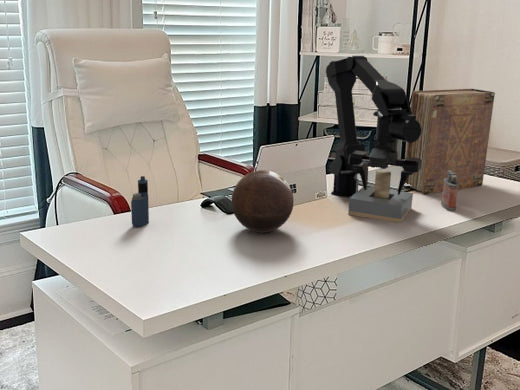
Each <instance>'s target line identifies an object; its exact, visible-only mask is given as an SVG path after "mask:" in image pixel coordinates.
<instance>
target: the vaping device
mask: <svg viewBox="0 0 520 390" xmlns="http://www.w3.org/2000/svg"><path fill="white" fill-rule="evenodd" d="M148 183H149V182H148V179H146V176H145V175H144V176H143V175H141V176H140V179H138V180H137V189H138V190H137V192H136V193H133V194H132V198H131V201H130V206H131V207H130V208H131V225H132V227H133V228H142V227H144V226H146V225H148V224H149V223H150V220H149V219H150V217H149V216H150V211H149V207H150V205H149V187H148V185H149V184H148Z"/></svg>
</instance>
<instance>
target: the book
mask: <svg viewBox="0 0 520 390" xmlns="http://www.w3.org/2000/svg"><path fill="white" fill-rule="evenodd" d="M495 95H496V92H494V91H489V90H482V89H476V88H458V89H457V88H455V89H433V90H431V89H430V90H428V89H427V90H413V91H412V93H411V103H410V107H411V112H412V115H416V121H418V122H419V124H420V126H421V129H422V131H421V135H420V137H419V138H418V140H416V141H415V142H413V143H409V142H406V151H405V158H407V157H414V158H420V159H421V160H422V167H421V169H420V170H419V171H418V172H414V174H413V175H409V177H408V178H407V180H406V182H405V183H407V184H410V185H412V188H411V189H413V190H416V191H419V192H422V194H423V195H429V194H436V193H443V188H444V178H448V177H449V176H448V175H447V171H452V172H453V173H456V176H457V179H456V181H457V182H458V183H459V188H458V190H461V189H469V188H475V187H481V186H483V182H484V175H485V169H486V167H485V166H486V161H487V153H488V145H489V138H490V131H491V125H492V123H491V122H492V115H493V109H494V102H495V101H494V100H495Z"/></svg>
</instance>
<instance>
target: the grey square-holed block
mask: <svg viewBox="0 0 520 390" xmlns="http://www.w3.org/2000/svg"><path fill="white" fill-rule="evenodd" d="M374 191H375V186H374V187H373V186H367V189H366V190H364V187H363V186H362V187H361V188H360V189H358V191H357V192H356V193H355V194H354V195H353V196H352V197H349V198H348V199H349V200H348V213H347V214H348V215H350V216H357V217H363V218H369V219H375V220H382V221H386V222H393V223H398V224H399V223H402V221H403V220H404V219H405V217H406V216H407V214H409V212H410V211H411V210H412V208H413V207H412V206H413V205H412V204H413V197H414V196H413V195H414V193H413V192H407V191H403V190H402V191H401V193H400V195H398V190H394V189H390V191H389V200H387V199H381V198H374Z"/></svg>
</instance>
